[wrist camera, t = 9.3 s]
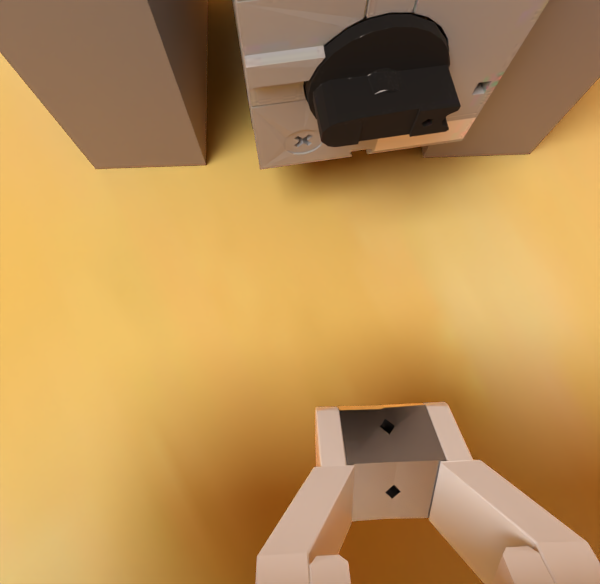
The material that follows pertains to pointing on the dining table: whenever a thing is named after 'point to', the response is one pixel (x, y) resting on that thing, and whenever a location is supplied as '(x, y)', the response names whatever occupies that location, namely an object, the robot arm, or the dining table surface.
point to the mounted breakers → (193, 77)
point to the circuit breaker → (371, 71)
